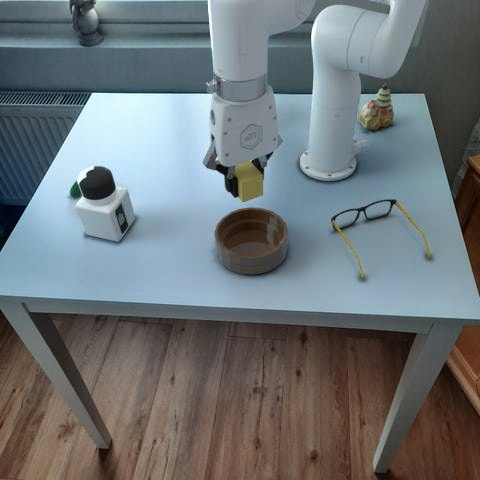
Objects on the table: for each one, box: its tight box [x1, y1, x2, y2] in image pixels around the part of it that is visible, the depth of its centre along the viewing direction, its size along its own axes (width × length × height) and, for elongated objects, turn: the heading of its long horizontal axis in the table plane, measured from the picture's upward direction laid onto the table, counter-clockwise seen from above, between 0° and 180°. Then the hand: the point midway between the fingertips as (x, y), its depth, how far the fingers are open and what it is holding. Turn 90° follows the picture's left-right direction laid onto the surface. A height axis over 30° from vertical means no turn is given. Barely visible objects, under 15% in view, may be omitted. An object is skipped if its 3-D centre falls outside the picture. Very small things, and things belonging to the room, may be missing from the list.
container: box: [74, 165, 136, 243], centre depth 92 cm, size 8×8×13 cm
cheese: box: [235, 160, 264, 203], centre depth 80 cm, size 4×6×4 cm, turn 27°
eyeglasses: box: [330, 198, 431, 279], centre depth 90 cm, size 14×14×4 cm
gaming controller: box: [69, 170, 83, 198], centre depth 103 cm, size 9×4×6 cm
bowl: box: [214, 206, 289, 275], centre depth 90 cm, size 14×14×5 cm
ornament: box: [358, 83, 395, 131], centre depth 112 cm, size 8×6×10 cm
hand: (244, 187), depth 81 cm, fingers closed on cheese, 4 cm apart
